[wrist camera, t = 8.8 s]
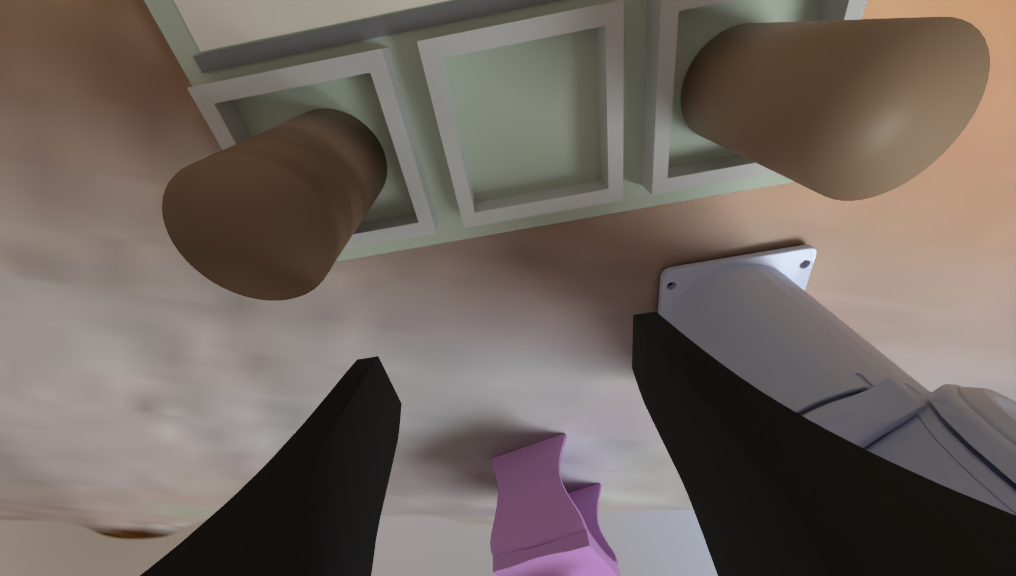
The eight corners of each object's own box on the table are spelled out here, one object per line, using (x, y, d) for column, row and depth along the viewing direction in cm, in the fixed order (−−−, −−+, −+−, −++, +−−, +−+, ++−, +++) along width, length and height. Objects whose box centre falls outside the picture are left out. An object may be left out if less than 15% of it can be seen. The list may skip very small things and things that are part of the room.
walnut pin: (400, 198, 17) (356, 286, 11) (313, 215, 17) (224, 311, 11) (364, 98, 14) (285, 142, 9) (265, 120, 15) (122, 177, 9)
